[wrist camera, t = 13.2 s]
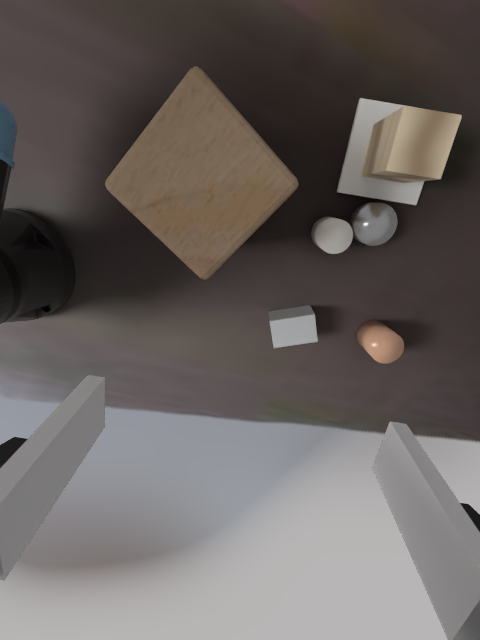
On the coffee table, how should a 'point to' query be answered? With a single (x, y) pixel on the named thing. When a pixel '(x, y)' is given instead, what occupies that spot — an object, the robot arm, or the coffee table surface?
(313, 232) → the grey rounded cylinder
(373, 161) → the maple block
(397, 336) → the peach capsule
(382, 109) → the coaster
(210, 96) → the wooden block
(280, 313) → the grey box
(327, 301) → the coffee table surface
